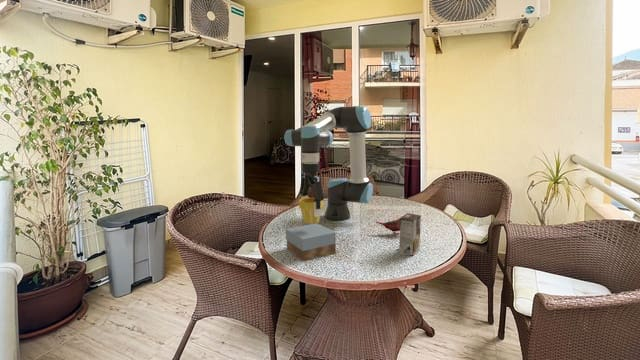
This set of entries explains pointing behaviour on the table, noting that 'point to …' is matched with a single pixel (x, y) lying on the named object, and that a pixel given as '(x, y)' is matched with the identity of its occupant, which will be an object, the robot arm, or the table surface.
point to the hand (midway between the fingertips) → (311, 213)
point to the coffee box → (409, 234)
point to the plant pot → (309, 210)
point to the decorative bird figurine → (392, 225)
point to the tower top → (310, 236)
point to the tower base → (311, 251)
